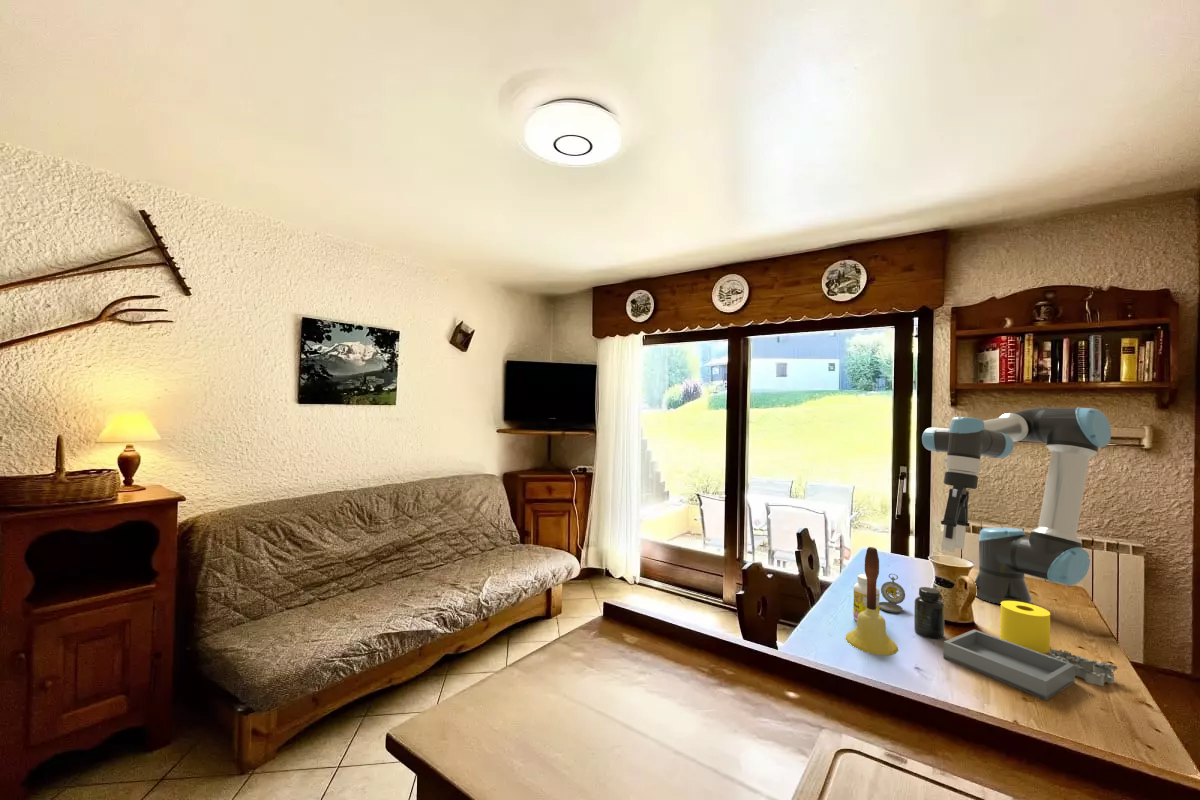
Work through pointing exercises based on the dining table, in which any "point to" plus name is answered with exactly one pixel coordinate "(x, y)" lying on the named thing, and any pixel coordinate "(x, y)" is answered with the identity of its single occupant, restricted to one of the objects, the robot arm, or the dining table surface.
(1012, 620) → the yellow toilet roll
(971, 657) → the tray
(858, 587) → the supplement bottle
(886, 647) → the handbell
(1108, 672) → the egg carton
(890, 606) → the pocket watch
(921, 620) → the supplement bottle
